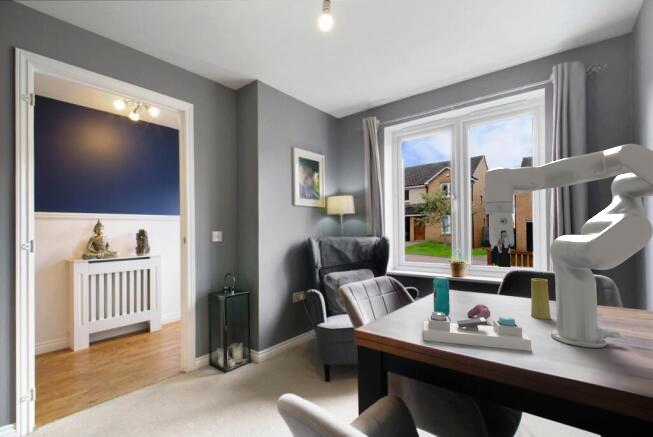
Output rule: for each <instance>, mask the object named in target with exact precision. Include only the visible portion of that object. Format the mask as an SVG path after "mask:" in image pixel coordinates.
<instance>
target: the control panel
mask: <svg viewBox="0 0 653 437" xmlns="http://www.w3.org/2000/svg"><path fill="white" fill-rule="evenodd" d="M427 319H428V320H423V340H424V341H428V342H436V343H437V342H439V343H447V344H458V345H459V344H460V345H467V346H468V345H469V346H478V347H479V346H480V347H489V348H497V349H510V350H517V351H518V350H519V351H528V352H532V339H531V338H530V337H529V336H528V335H527V334H526V333H525V332H523V328H522V326H521V325H519V324H518V323H517V321H515V327H514V326H501V325H499V319H492V321H493V322H492V323H493V326H492V325H479V326H470V327H461V328H459V326H458V324H457V323H455V322H451V321H450V319H449V316H448V317H446V316H445V321H438V320H432V314H428V317H427Z"/></svg>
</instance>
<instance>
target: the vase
mask: <svg viewBox="0 0 653 437" xmlns="http://www.w3.org/2000/svg"><path fill="white" fill-rule="evenodd" d="M530 285H531V286H530V287H531V288H530V289H531V290H530V291H531V296H530V297H531V304H530V305H531V310H530V311H531V312H530V313H531V314H530V316H531V317H533V318H535V319H540V320H541V319H542V320H549V319H551V318H552V317H551V309H550V306H551V305H550V296H549V280H548V279H545V278H535V277H534V278H531V279H530Z"/></svg>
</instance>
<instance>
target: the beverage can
mask: <svg viewBox="0 0 653 437" xmlns="http://www.w3.org/2000/svg"><path fill="white" fill-rule="evenodd" d="M432 283H433V312H442V313H445V316H446V317H448V318H449V317H450V316H449V315H450V312H451V310H450V309H451V307H450V305H451V304H450V281H449V277H447V276H442V275H439V276H438V275H436V276H433V280H432Z"/></svg>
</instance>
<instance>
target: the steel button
mask: <svg viewBox="0 0 653 437" xmlns="http://www.w3.org/2000/svg"><path fill="white" fill-rule="evenodd" d="M431 315H432V320H438V321H445V313H442V312H434V311H433V312H431Z"/></svg>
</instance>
